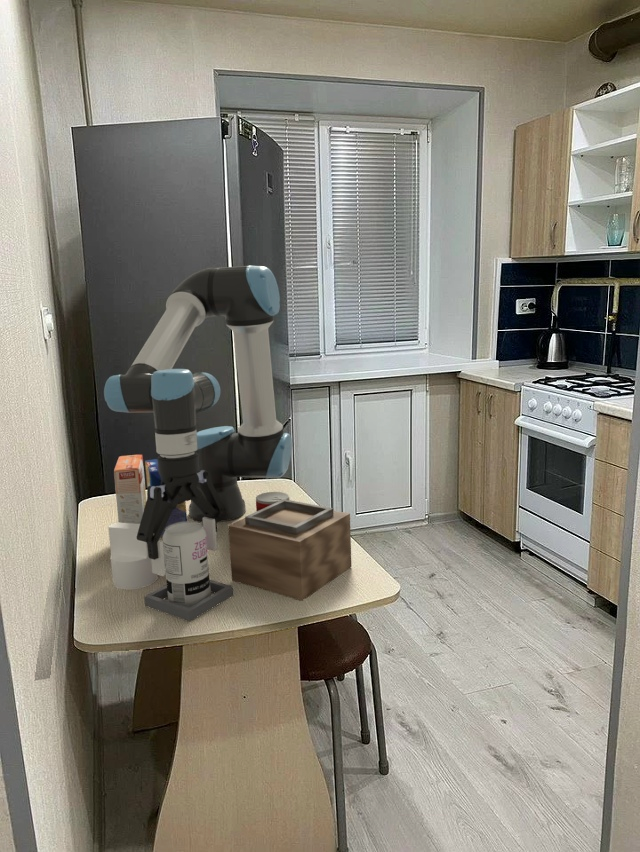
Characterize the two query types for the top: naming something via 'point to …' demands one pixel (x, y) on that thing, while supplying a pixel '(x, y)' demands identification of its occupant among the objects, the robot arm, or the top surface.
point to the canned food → (269, 499)
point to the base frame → (220, 595)
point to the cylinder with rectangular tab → (129, 557)
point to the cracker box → (130, 488)
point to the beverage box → (155, 480)
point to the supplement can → (186, 563)
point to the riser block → (290, 548)
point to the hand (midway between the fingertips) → (186, 561)
